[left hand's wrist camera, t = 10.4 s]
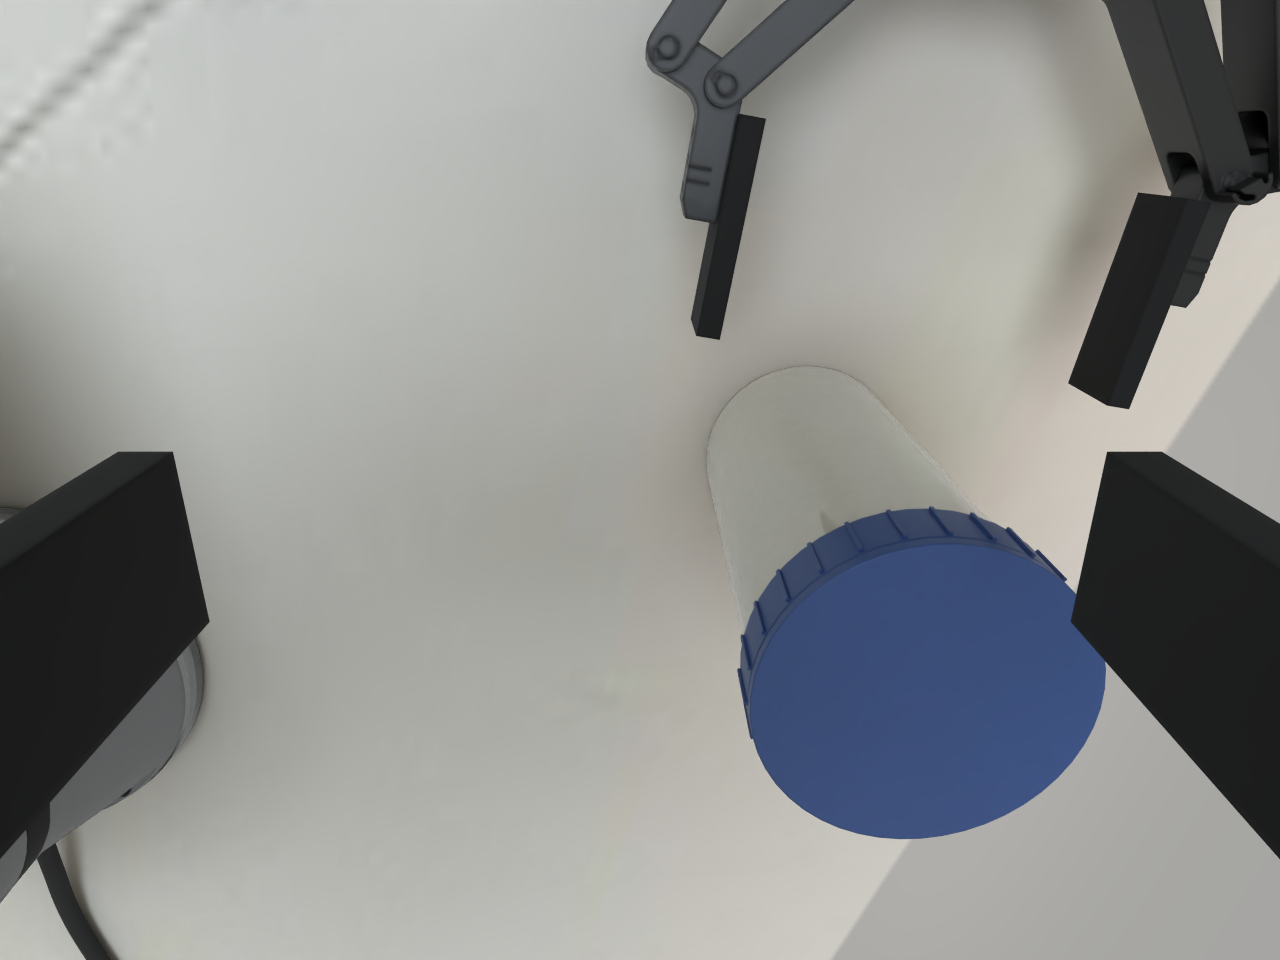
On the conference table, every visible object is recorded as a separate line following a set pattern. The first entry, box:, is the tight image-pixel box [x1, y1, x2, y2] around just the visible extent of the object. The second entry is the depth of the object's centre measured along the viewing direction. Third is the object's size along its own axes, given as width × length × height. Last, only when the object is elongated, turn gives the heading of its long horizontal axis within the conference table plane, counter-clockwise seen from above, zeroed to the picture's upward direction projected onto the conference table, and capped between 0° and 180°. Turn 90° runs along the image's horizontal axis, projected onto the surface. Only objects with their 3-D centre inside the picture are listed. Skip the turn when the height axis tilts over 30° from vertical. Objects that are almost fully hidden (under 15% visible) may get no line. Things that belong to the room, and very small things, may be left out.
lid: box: [737, 506, 1106, 839], centre depth 22 cm, size 9×9×2 cm
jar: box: [706, 366, 991, 635], centre depth 29 cm, size 8×8×17 cm
